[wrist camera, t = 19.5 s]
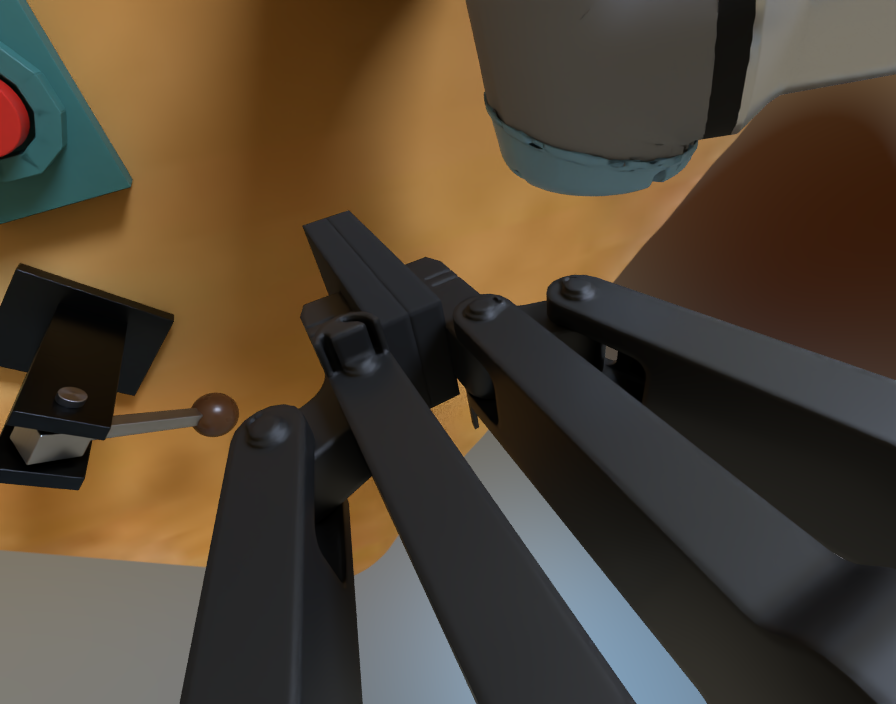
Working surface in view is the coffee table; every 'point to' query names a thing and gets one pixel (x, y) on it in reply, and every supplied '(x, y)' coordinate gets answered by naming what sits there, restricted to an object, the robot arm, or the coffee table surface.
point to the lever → (131, 428)
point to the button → (12, 120)
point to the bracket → (70, 365)
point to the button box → (49, 127)
